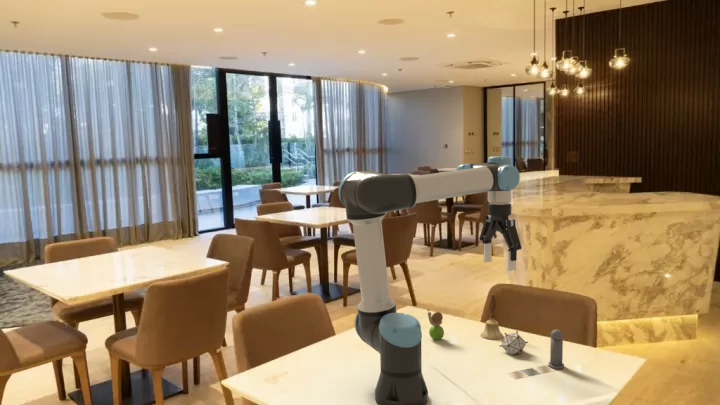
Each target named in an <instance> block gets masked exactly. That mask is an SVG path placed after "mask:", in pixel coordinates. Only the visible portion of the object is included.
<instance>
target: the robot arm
mask: <svg viewBox="0 0 720 405" xmlns="http://www.w3.org/2000/svg"><path fill="white" fill-rule="evenodd" d="M520 179H521V176H520V171H519V169H517V167H516V166H514V165H512V159H511V157H510V156H506V155H505V156H503V155H498V156H497V155H495V156H494V155H493V156H489V157H488V158H487V162H481V163H480V162H479V163H478V162H477V163H475V162H474V163H464V164H463V163H462V164H460V165H458V166H457V167H456V170H451V171H450V170H449V171H444V172H443V171H442V172H435V173H427V174H423V175H422V174H421V175H420V174H419V175H415V176H414V175H413V176H412V175H411V174H409V173H402V174H401V173H400V174H390V173H382V172H374V171H373V172H372V171H367V170H358V171H353V172H349V173H348V174H346V176H345V177H344V178H342V180H341V182H340V184H339V187H338V199H339V200H340V203H341V205H343V206H344V207H345V213H346V220H347V221H348V222H350V223H351V224H352V229H353V238H354V239H353V240H354V245H355V255H356V262H357V271H358V280H359V289H360V298H361V300H360V302H359V303H358V305H357V313H356V315H355V318H354V329H355V331H356V334H357V336H358V337H359V338H360V340H361V341H362V342H364V343H365V344H366V345H367V346H369V347H371V348H372V349H373V350H374V351H376V352H377V353H379V355H380V356H379V358H380V359H379V360H380V362H379V363H380V374H379V377H378V379H377V383H376V386H375V390H374V401H375V402H376V403H377V405H426V404H427V403H428V402H429V401H428V400H429V390H428V388H427V385H426V381H425V379H424V375H423V372H422V370H423V369H422V337H423V335H422V334H423V333H422V327H421V324H420V321H419V320H418V319H417V318H416V317H414V316H413V315H410V314H408V313H406V314H405V313H404V312H397V305H396V301H395V300H394V299H393V298H391V297H390V286H389V279H388V278H389V277H388V271H387V270H388V268H387V261H386V260H387V259H386V252H385V243H384V242H385V241H384V233H383V225H382V224H383V223H382V221H383V219H384V218H385V216H386V213H387V214H388V213H391V212H397V211H402V210H406V209H412V208H414V207H415V206H416V204H419V203H420V204H421V203H426V202H431V201H436V200H437V201H439V200H444V199H449V198H456V197H462V196H468V195H473V194H475V195H476V194H480V193H486V192H487V202H488V204H487V215H485V216H484V221H483V225H482V229H481V230H480V231H481V232H480V235H479V237H478V238H479V241H481V242H482V244H483V246H482V248H483V250H482V251H483V263H492V258H493V257H492V254H493V253H492V252H493V250H492V246H493V245H492V244H493V243H492V239H493V238H494V235H495V234H496V233H497V232H499V233H500V234H501V235H502V236H503V238H504V241H505V243H506V245H507V248H508V249H507V271H509V272H510V271H517V252H518V251H519V250H522V245H521V240H520V237H519V233H518V231H517V227H516V220H515V219H509V216H510V215H512V204H511V202H512V190H514V189H516V188H517V187H518V185H519V184H520Z"/></svg>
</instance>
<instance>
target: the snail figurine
mask: <svg viewBox="0 0 720 405" xmlns="http://www.w3.org/2000/svg"><path fill="white" fill-rule="evenodd" d="M430 311H431V310H430V309H427V318H428V320H429V323H430V325H431V327H430V328H429V331H428V334H429V337H430V338H431V339H433V340H435V341H438V340H441V339H442V338H444V335H445V331H444V328H443V327H442V326H441V325H442V324H443V317H444V316H443V313H442V312H440V311H436V312H434V313H433V314H432V312H430Z"/></svg>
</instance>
